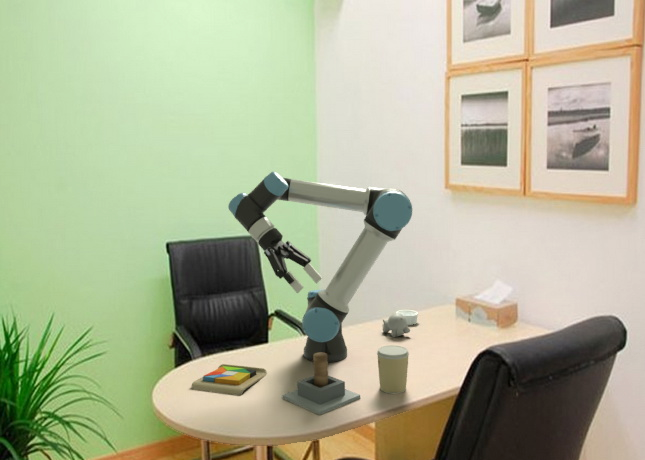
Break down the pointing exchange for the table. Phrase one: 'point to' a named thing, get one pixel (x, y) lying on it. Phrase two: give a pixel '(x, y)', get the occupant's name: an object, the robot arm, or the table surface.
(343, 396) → the socket
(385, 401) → the table surface
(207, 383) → the wooden puzzle
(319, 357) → the peg
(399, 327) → the toy rhinoceros
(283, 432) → the table surface
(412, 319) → the ramekin
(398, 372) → the coffee cup
